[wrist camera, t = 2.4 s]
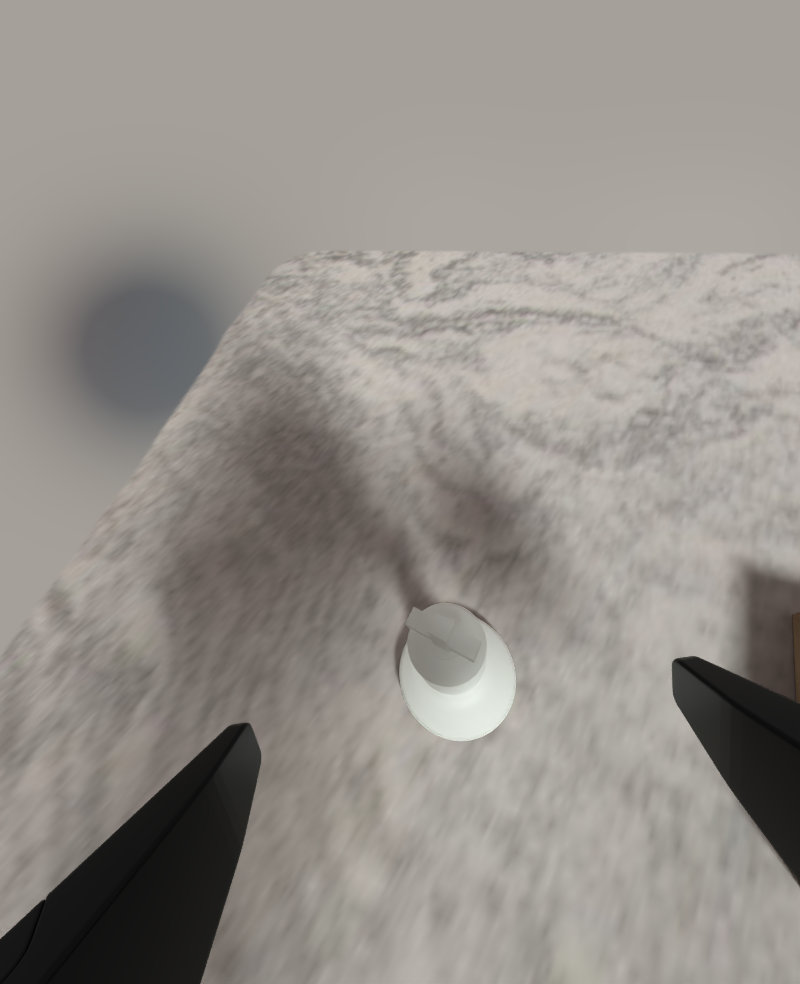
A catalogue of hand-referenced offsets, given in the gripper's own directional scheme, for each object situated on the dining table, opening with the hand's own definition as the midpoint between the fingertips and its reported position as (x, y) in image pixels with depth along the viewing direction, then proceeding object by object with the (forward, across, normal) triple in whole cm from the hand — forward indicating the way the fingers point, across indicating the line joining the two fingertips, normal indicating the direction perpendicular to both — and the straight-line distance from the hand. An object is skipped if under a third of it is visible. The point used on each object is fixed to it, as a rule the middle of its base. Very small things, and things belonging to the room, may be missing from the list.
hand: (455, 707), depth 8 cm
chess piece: (+8, 0, +6) cm, 9 cm away
